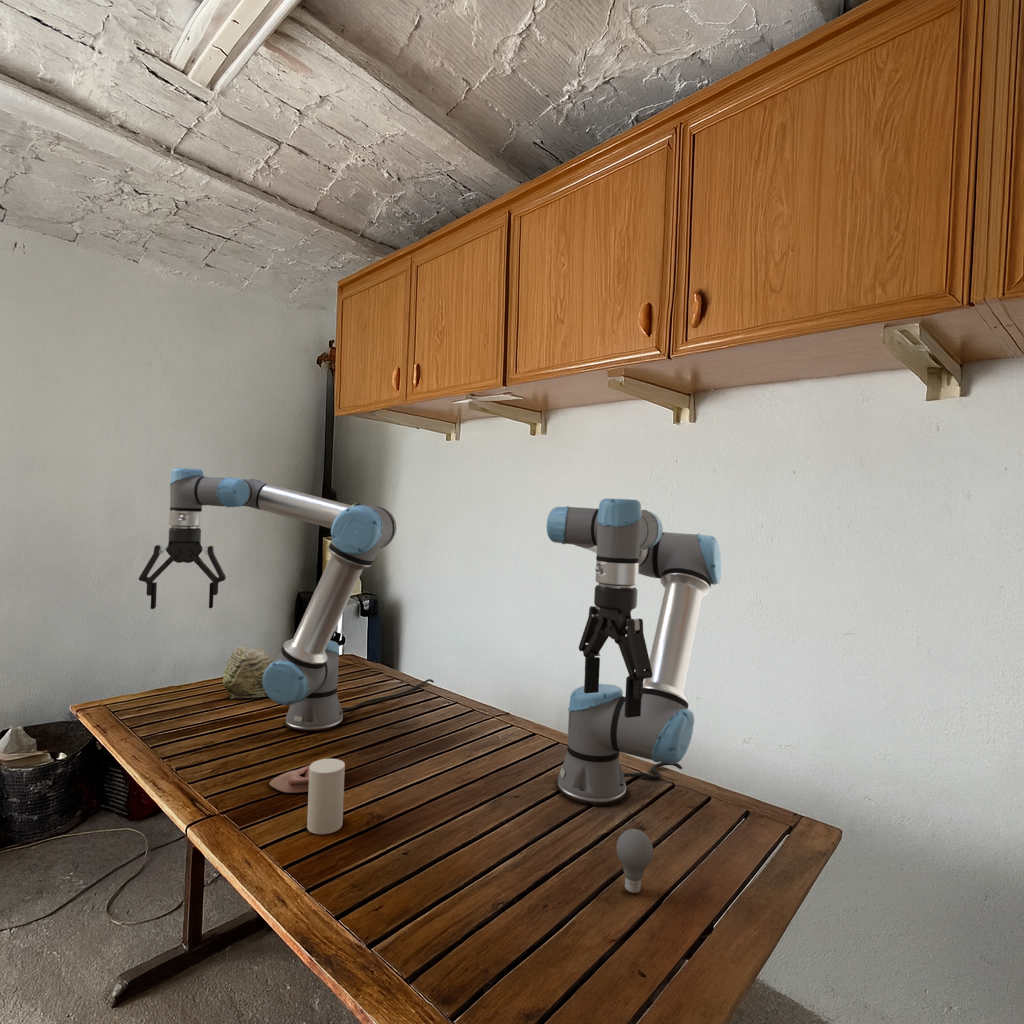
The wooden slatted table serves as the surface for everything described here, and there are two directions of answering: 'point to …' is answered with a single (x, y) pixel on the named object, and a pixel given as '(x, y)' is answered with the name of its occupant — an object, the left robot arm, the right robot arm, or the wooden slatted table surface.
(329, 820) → the canister
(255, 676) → the fossil
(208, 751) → the wooden slatted table surface
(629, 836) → the light bulb
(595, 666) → the right robot arm
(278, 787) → the anatomical model
